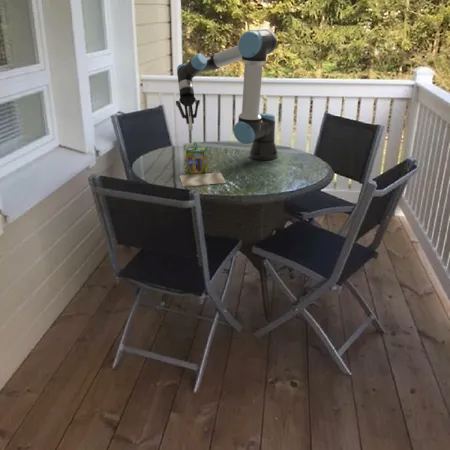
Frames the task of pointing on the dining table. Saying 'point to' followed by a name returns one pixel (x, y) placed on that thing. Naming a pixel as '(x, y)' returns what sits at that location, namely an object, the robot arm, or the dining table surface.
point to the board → (202, 179)
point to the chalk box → (197, 160)
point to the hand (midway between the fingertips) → (191, 128)
